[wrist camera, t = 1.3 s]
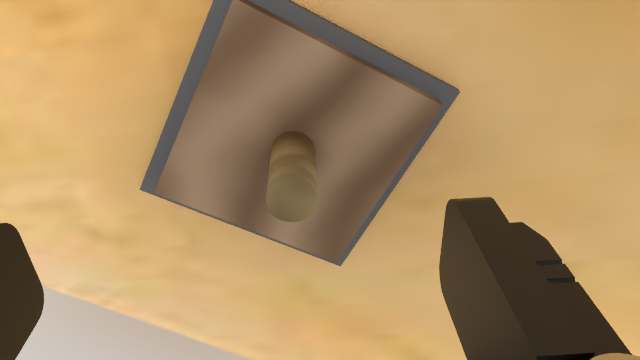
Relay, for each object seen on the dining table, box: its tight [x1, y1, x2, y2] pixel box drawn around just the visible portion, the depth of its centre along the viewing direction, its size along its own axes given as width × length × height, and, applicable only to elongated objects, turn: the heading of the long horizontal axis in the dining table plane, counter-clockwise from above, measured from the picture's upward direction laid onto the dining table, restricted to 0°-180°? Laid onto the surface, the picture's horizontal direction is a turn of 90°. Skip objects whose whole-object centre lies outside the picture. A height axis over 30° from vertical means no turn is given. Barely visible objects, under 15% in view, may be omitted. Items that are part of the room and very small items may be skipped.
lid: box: [154, 0, 443, 263], centre depth 29 cm, size 14×14×7 cm
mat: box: [140, 0, 460, 266], centre depth 33 cm, size 16×16×1 cm
